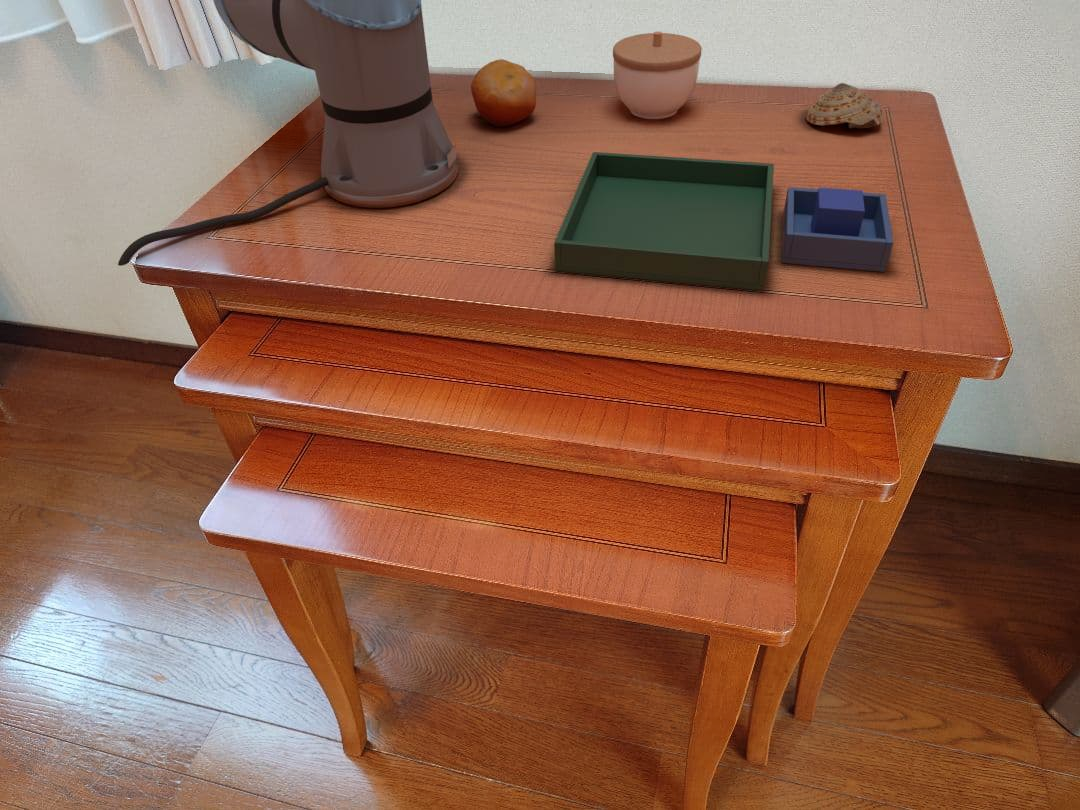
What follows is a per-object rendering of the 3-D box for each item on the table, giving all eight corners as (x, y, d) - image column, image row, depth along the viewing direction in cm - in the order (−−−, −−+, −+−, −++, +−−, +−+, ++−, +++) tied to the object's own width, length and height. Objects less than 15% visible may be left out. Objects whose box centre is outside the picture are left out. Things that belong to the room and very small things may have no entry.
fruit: (504, 87, 106) (519, 41, 99) (535, 133, 105) (553, 89, 98) (452, 104, 103) (464, 57, 96) (484, 151, 102) (498, 107, 94)
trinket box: (693, 128, 98) (700, 49, 92) (606, 125, 100) (607, 46, 93) (698, 95, 106) (705, 19, 99) (617, 92, 107) (619, 17, 101)
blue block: (811, 245, 76) (819, 207, 73) (810, 224, 79) (818, 187, 76) (855, 249, 75) (865, 210, 73) (853, 227, 78) (862, 190, 75)
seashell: (876, 124, 91) (819, 84, 93) (847, 162, 96) (793, 124, 97) (900, 100, 96) (846, 62, 97) (872, 137, 101) (820, 101, 102)
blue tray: (781, 263, 75) (786, 233, 73) (783, 214, 82) (788, 186, 80) (885, 272, 73) (893, 242, 71) (878, 222, 80) (885, 193, 78)
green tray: (555, 271, 76) (554, 242, 74) (592, 178, 89) (592, 151, 87) (763, 291, 72) (768, 261, 70) (769, 190, 86) (774, 163, 84)
